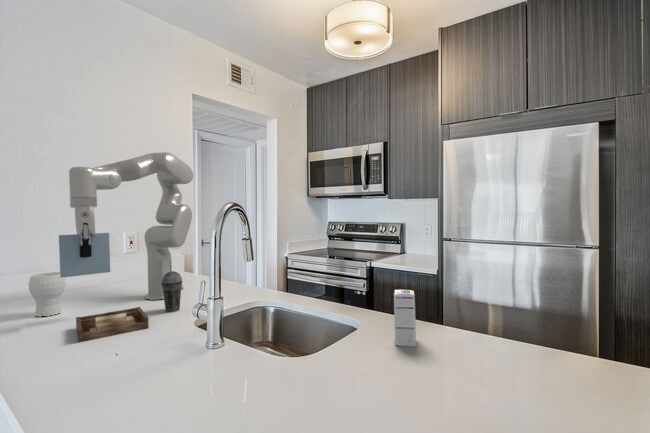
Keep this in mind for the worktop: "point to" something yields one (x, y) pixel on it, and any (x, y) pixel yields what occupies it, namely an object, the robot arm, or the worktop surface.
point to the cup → (47, 292)
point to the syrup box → (404, 318)
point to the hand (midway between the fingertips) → (85, 256)
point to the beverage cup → (172, 290)
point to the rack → (89, 322)
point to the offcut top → (111, 319)
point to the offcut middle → (116, 324)
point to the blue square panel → (86, 265)
